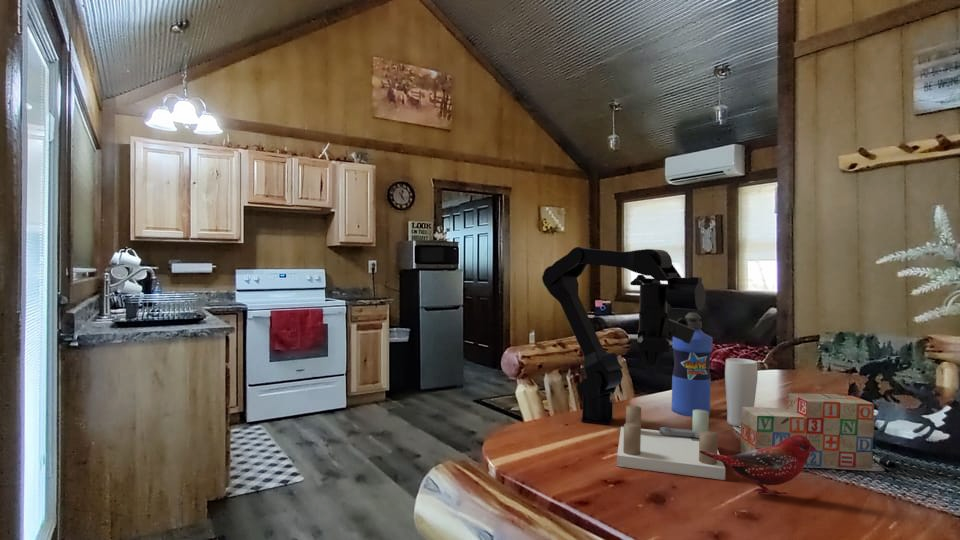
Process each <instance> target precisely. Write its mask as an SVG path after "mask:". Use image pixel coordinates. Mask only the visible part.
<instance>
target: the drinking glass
mask: <svg viewBox="0 0 960 540" xmlns="http://www.w3.org/2000/svg"><path fill="white" fill-rule="evenodd" d="M758 373H759V372H758V361H756V360H753V359H748V358H740V357H739V358H736V357H734V358H733V357H727V358H726V359H725V365H724V382H725V383H724V384H725V397H726V399H725V400H726V418H727V419H726V422H727V424H728V425H730V426H732V427H735V426H741V422H742V407H755V403H756V394H757V385H758V377H759V376H758Z"/></svg>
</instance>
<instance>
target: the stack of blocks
mask: <svg viewBox="0 0 960 540" xmlns="http://www.w3.org/2000/svg"><path fill="white" fill-rule="evenodd" d="M874 414H875V403H873V402H870V401H869V400H868V401H867V400H865V399H862V398H860V397H856V396H854V395H844V394H842V395H839V394H836V393H834V394H832V393H821V394H820V393H798V392H797V393H796V392H795V393H791V392H790V393H788V408H783V407H765V406H764V407H761V406H759V407H757V406H754V407H742V422H741V427H740V453H743V452H746V451H751V450H756V449H762V448H768V447H772V446H775V445H777V444H779V443H780V442H782V441H783V440H784V439H786V438H788V437H791V436H795V435H803V436H805V437H806V438H807V439H808V440H809V441H810V443H811V445H812V446H813V447H815V448H816V449H817V451H816V450H814V451H811V452H810V455H809V457H808V459H807V460H806V462H805V464H804V465H807V467H809V466H808V465H811V466H810V467H826V466H833V467H832V468H848V469H849V468H854V469H872V468H873V456H874V455H873V454H874V453H873V450H874V449H873V447H874V436H875V435H874V434H875V433H874V432H875V420H874V419H875V418H874ZM834 466H835V467H834Z"/></svg>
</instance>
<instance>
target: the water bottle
mask: <svg viewBox="0 0 960 540" xmlns="http://www.w3.org/2000/svg"><path fill="white" fill-rule="evenodd" d="M684 319H685V320H687V321H688V326H689V327H692V328H694V329H695V333H694V335H693V337H692V340H691V342H690V344H688V343H685V342H683V340H680V339H678V338H675V337H673V336H672V344H671V345H672V350H673V361H674V364H673V365H674V366H673V370H672V378H671V379H672V380H671V411H672V412H673V413H675V414H677V415H680V416H687V417H691V418H693V410H695V409H700V410H706V411H708V412H709V416H710V415H711V386H712V383H711V381H712V378H711V372H710V363H711V358H712V357H711V356H712V352H713V340H714V339H713V337H712V336H710V335H708V334H706V333H705V332H704V331H702V328H703V327H702V324H703V323H702V321H700V320H701V319H702V317H701V315H699V313H698V312H693V311H692V312H691V311H690V312H688V313H687V314H686V315H685V316H684Z"/></svg>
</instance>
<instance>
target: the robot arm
mask: <svg viewBox="0 0 960 540" xmlns="http://www.w3.org/2000/svg"><path fill="white" fill-rule="evenodd" d="M588 265H597V266H605V267H613V268H615V267H616V268H623V269H627V270H628V271H631V272H634V273H636V274H638V275H637V276H636V277H635V278H634V279H633V280H632V281H630V283H629V284H630V286H638V287H639V311H638V312H639V313H638V314H639V315H638V330H637V340H636V341H637V342H636V343H637V345H636V351H638V354H639V356H640V358H641V361H642V364H643V366H644V369H645V372H646V375H647V377H648V379H649V380H654V379H655V377H656V372H657V369H658V364H659V360H660V357H661V356H662V355H663V354H665V353H670V341H669V339H668V338H669V336H671V337H672V338H673V337H675V338H678V339H680V340H683V342H685V343H688V344H690V342H691V340H692V337H693V335H694V333H695V329H694V328H692V327H689V326H688V320H687V319H686V318H681V317H680V318H678V319H677V321H676V320H675V319H671V318H670V315H669V312H668V305H670V307H671V308H672V309H678V310H691V311H702V310H703V309H704V307H705V305H706V301H707V298H706V297H707V293H706V292H705V291H706V290H705V287H704V284H703V283H702V281H703V278H702V277H701V276H692V277H682V276H681V275H680V273H679V272H678V270H677V268H676V267H675V265H674V264H673V259H672V257H671V255H670V254H669V252H668V251H666V250H664V249H654V248H653V249H652V248H644V249H636V250H629V251H619V250H609V249H608V250H607V249H596V248H589V247H586V246H585V247H583V246H576V247H574V248H572V249H571V250H570V251H569V252H568V253H567V254H566V255H564V256H562V257H561V258H560V259H558V260H556V261H555V262H554V263H553V264H551V265H549V266H547V267H546V268H545V269H544V271H543V274H542V276H541V281H542V284H543V285H544V287H545V288H546V290H547V291H548V293H549V294H550V295H551V296H552V298H554V299H555V300H556V301H558V302H559V304H560V307H561V308H562V311H563V313H564V315H565V317H566V320H567V322H568V324H569V327H570V328H571V331H572V333H573V335H574V337H575V339H576V341H577V344H578V345H579V348H580V351H581V352H582V353H581V354H583V371H584V374H585V378H583V380H581V381H580V382H579V383H578V384H577V385H576V389H577V392H578V395H579V396H582V408H581V409H582V414H581V415H582V416H581V419H580V422H583V423H592V424H600V425H601V424H602V425H611V421H612V420H613V418H614V417H613V416H614V400H613V399H612V395H611V394H612V393H613V394H614V393H615V392H616V389H617V387H618V386H619V385H620V384H621V383H622V380H623V378H624V376H623V375H624V374H623V371H622V369H624V367H623V365H621V364H620V361H619V360H618V359H619V358H618V356H617V354H616V352H609V353H608V351H606V350H605V348H603V345H602V343H601V341H600V339H599V337H598V335H597V333H596V330H595V329H594V326H593V324H592V321H591V319H590V318H589V315H588V313H587V311H586V309H585V307H584V304H583V303H582V301H581V298H580V296H579V289H580V288H579V286H580V285H579V281H578V278H579V277H580V276H581V275H582V274H583V272H584V270H586V267H587V266H588ZM646 276H647V277H648V276H649V277H652V278H647V277H646ZM661 282H667V283H661Z"/></svg>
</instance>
